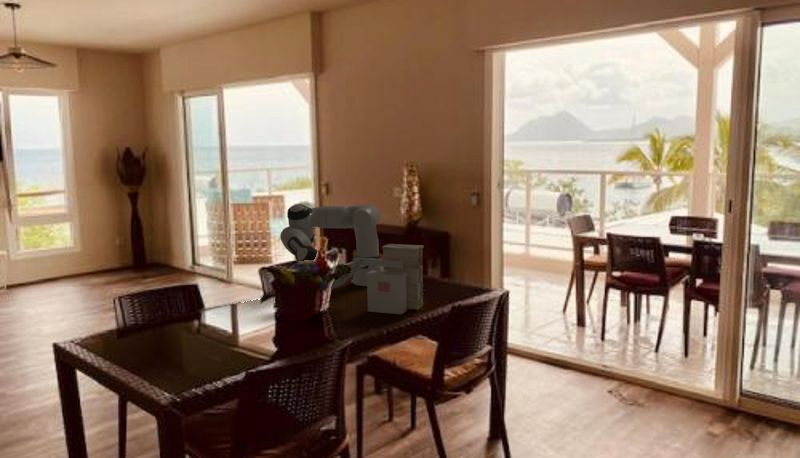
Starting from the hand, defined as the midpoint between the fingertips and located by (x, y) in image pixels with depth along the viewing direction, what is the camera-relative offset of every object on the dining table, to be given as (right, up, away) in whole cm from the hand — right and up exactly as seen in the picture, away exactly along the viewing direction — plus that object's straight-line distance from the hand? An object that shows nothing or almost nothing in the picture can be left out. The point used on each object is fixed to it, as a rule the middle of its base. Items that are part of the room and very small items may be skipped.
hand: (363, 260), depth 252 cm
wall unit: (+17, -20, +6) cm, 27 cm away
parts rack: (+10, -21, -1) cm, 23 cm away
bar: (+7, -2, -2) cm, 7 cm away
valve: (+20, -19, +18) cm, 33 cm away
